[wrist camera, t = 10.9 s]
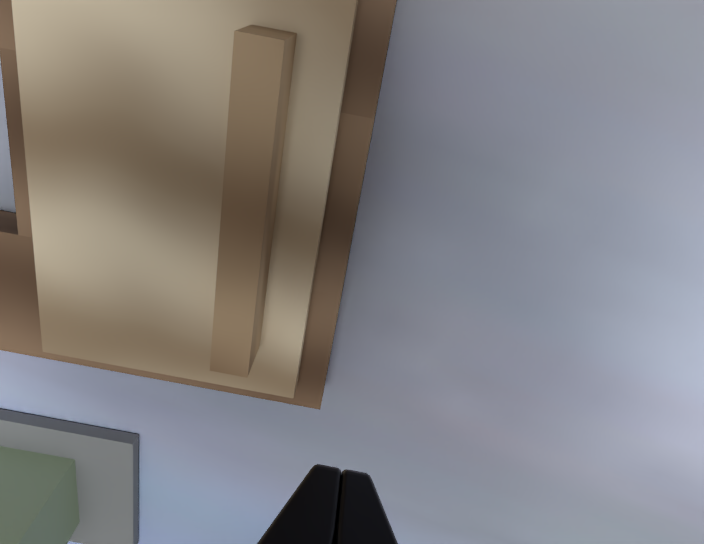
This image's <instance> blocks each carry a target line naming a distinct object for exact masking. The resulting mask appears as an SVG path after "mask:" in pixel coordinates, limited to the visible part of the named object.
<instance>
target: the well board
mask: <svg viewBox="0 0 704 544" xmlns="http://www.w3.org/2000/svg"><path fill="white" fill-rule="evenodd" d="M396 2H397V0H358V6H357V12H356V18H355V25H354V31H353V37H352V43H351V50H350V56H349V62H348V68H347V75H346V81H345V87H344V93H343V100H342V106H341V112H340V118H339V125H338V131H337V137H336V143H335V150H334V156H333V162H332V168H331V175H330V181H329V187H328V193H327V200H326V206H325V212H324V218H323V225H322V231H321V237H320V243H319V250H318V256H317V262H316V268H315V275H314V281H313V287H312V293H311V300H310V306H309V312H308V318H307V325H306V331H305V337H304V343H303V350H302V356H301V362H300V368H299V375H298V381H297V386H296V390H295V394H294V398H288V397H283V396H277V395H272V394H267V393H261V392H256V391H250V390H245V389H240V388H234V387H229V386H224V385H218V384H213V383H207V382H202V381H197V380H191V379H186V378H181V377H175V376H170V375H165V374H159V373H154V372H148V371H143V370H138V369H132V368H127V367H122V366H116V365H111V364H105V363H100V362H95V361H89V360H84V359H79V358H73V357H68V356H62V355H57V354H52V353H46V352H43V349H42V338H41V327H40V316H39V304H38V293H37V282H36V271H35V259H34V248H33V237H32V226H31V214H30V203H29V192H28V181H27V170H26V158H25V147H24V136H23V125H22V113H21V102H20V91H19V80H18V68H17V57H16V46H15V35H14V23H13V12H12V1H11V0H0V58H1V68H2V78H3V88H4V98H5V108H6V118H7V127H8V137H9V147H10V157H11V167H12V177H13V187H14V197H15V207H16V213H12V212H6V211H1V210H0V350H3V351H9V352H14V353H20V354H25V355H30V356H36V357H41V358H46V359H52V360H57V361H63V362H68V363H73V364H79V365H84V366H89V367H95V368H100V369H106V370H111V371H116V372H122V373H127V374H132V375H138V376H143V377H149V378H154V379H159V380H165V381H170V382H175V383H181V384H186V385H192V386H197V387H202V388H208V389H213V390H218V391H224V392H229V393H235V394H240V395H245V396H251V397H256V398H261V399H267V400H272V401H278V402H283V403H288V404H294V405H299V406H304V407H310V408H315V409H320V407H321V402H322V396H323V391H324V386H325V380H326V375H327V370H328V364H329V359H330V354H331V348H332V343H333V338H334V332H335V327H336V322H337V316H338V311H339V306H340V300H341V295H342V290H343V284H344V279H345V274H346V268H347V263H348V258H349V252H350V247H351V242H352V236H353V231H354V226H355V220H356V215H357V210H358V204H359V199H360V194H361V188H362V183H363V178H364V172H365V167H366V162H367V156H368V151H369V146H370V140H371V135H372V130H373V124H374V119H375V114H376V108H377V103H378V98H379V92H380V87H381V82H382V77H383V71H384V66H385V61H386V55H387V50H388V45H389V39H390V34H391V29H392V23H393V18H394V13H395V7H396Z"/></svg>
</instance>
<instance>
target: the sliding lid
mask: <svg viewBox="0 0 704 544" xmlns="http://www.w3.org/2000/svg"><path fill="white" fill-rule="evenodd" d="M11 1H12V12H13V23H14V35H15V46H16V57H17V68H18V80H19V91H20V102H21V113H22V125H23V136H24V147H25V158H26V170H27V181H28V192H29V203H30V214H31V226H32V237H33V248H34V259H35V271H36V282H37V293H38V304H39V316H40V327H41V338H42V349H43V352H46V353H52V354H57V355H62V356H68V357H73V358H79V359H84V360H89V361H95V362H100V363H105V364H111V365H116V366H122V367H127V368H132V369H138V370H143V371H148V372H154V373H159V374H165V375H170V376H175V377H181V378H186V379H191V380H197V381H202V382H207V383H213V384H218V385H224V386H229V387H234V388H240V389H245V390H250V391H256V392H261V393H267V394H272V395H277V396H283V397H288V398H294V394H295V390H296V386H297V381H298V375H299V368H300V362H301V356H302V350H303V343H304V337H305V331H306V325H307V318H308V312H309V306H310V300H311V293H312V287H313V281H314V275H315V268H316V262H317V256H318V250H319V243H320V237H321V231H322V225H323V218H324V212H325V206H326V200H327V193H328V187H329V181H330V175H331V168H332V162H333V156H334V150H335V143H336V137H337V131H338V125H339V118H340V112H341V106H342V100H343V93H344V87H345V81H346V75H347V68H348V62H349V56H350V50H351V43H352V37H353V31H354V25H355V18H356V12H357V6H358V0H11Z"/></svg>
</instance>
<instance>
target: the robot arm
mask: <svg viewBox="0 0 704 544" xmlns="http://www.w3.org/2000/svg"><path fill="white" fill-rule="evenodd" d="M257 544H398V543H397V541H396V538H395V536H394V533H393V531H392V528H391V526H390V523H389V521H388V518H387V516H386V513H385V511H384V508H383V506H382V504H381V501H380V499H379V496H378V494H377V491H376V489H375V486H374V484H373V481H372V479H371V477H370V476H369V475H368V474H367V473H363V472H358V471H352V470H344V471H343V472H342V473H341V470H340V469H339V468H336V467H331V466H325V465H320V464H317V465H315V466H313V467H312V469H311V470H310V471H309V473H308V474H307V475H306V477H305V478H304V480H303V481H302V482H301V484H300V485H299V487H298V488H297V489H296V491H295V492H294V493H293V495H292V496H291V498H290V499H289V500H288V502H287V503H286V505H285V506H284V507H283V509H282V510H281V511H280V513H279V514H278V516H277V517H276V518H275V520H274V521H273V523H272V524H271V525H270V527H269V528H268V529H267V531H266V532H265V534H264V535H263V536H262V538H261V539H260V541H259V542H258V543H257Z"/></svg>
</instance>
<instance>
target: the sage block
mask: <svg viewBox="0 0 704 544" xmlns="http://www.w3.org/2000/svg"><path fill="white" fill-rule="evenodd" d="M79 522H80V520H79V507H78V494H77V481H76V467H75V459H70V458H64V457H59V456H53V455H47V454H42V453H36V452H31V451H25V450H19V449H14V448H8V447H3V446H0V544H67V543H68V541H69V539H70V538H71V536H72V534H73V532H74V531H75V529H76V527H77V526H78V524H79Z"/></svg>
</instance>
